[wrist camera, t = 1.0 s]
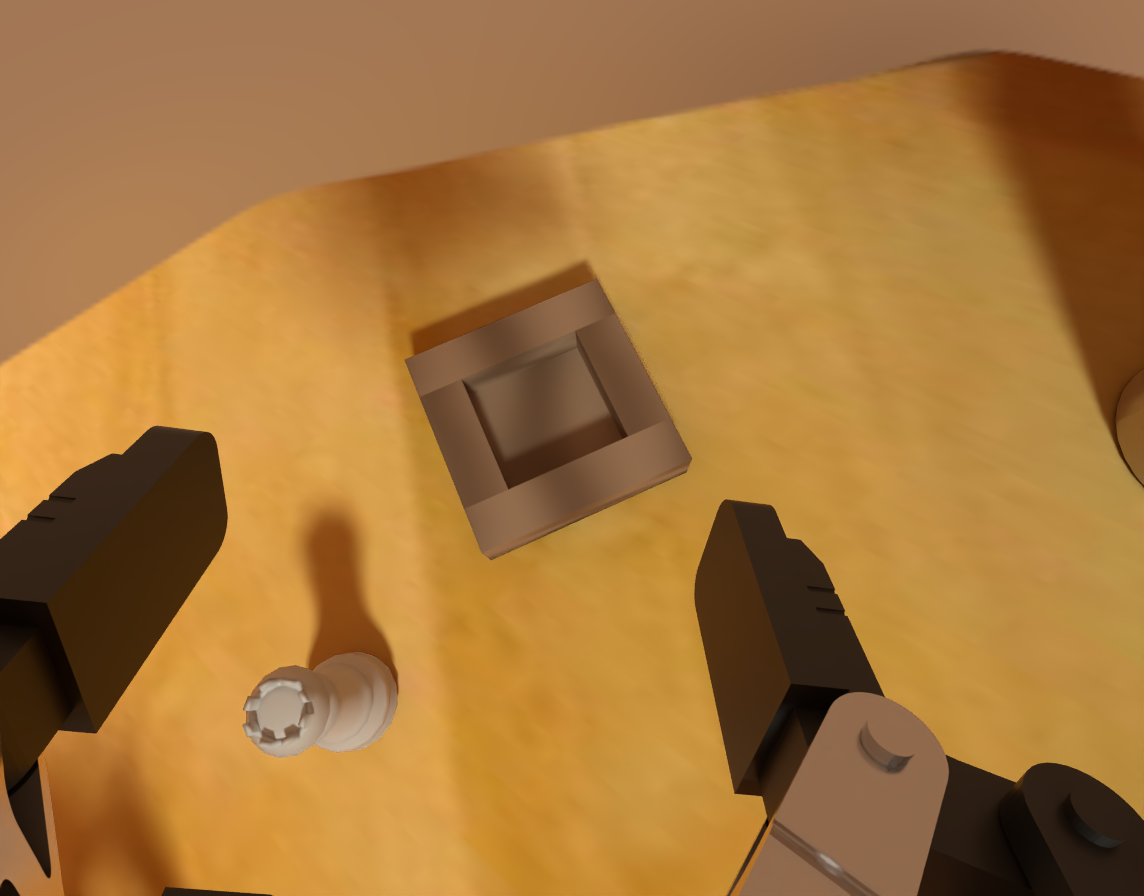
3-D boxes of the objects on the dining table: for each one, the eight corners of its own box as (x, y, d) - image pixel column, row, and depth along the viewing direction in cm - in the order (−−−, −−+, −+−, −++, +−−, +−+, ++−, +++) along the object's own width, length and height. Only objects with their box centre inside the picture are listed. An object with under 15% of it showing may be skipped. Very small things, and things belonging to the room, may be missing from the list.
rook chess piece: (320, 764, 31) (227, 798, 24) (300, 669, 33) (206, 672, 25) (411, 731, 31) (348, 754, 24) (388, 638, 33) (321, 632, 25)
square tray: (598, 302, 38) (597, 278, 35) (686, 472, 34) (691, 458, 32) (417, 379, 37) (404, 359, 35) (490, 560, 34) (481, 552, 31)
